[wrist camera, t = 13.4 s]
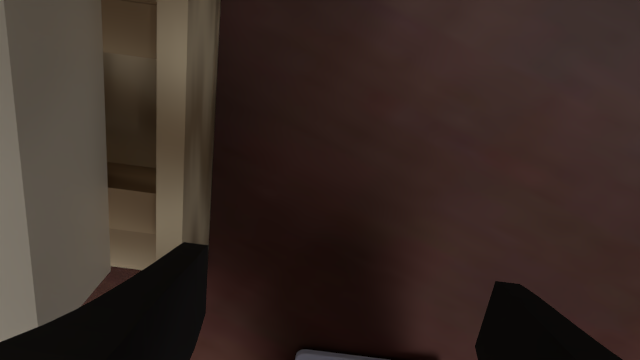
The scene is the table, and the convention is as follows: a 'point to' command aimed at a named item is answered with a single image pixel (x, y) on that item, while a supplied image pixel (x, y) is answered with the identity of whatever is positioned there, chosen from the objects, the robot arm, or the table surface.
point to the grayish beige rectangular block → (51, 160)
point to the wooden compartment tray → (159, 124)
